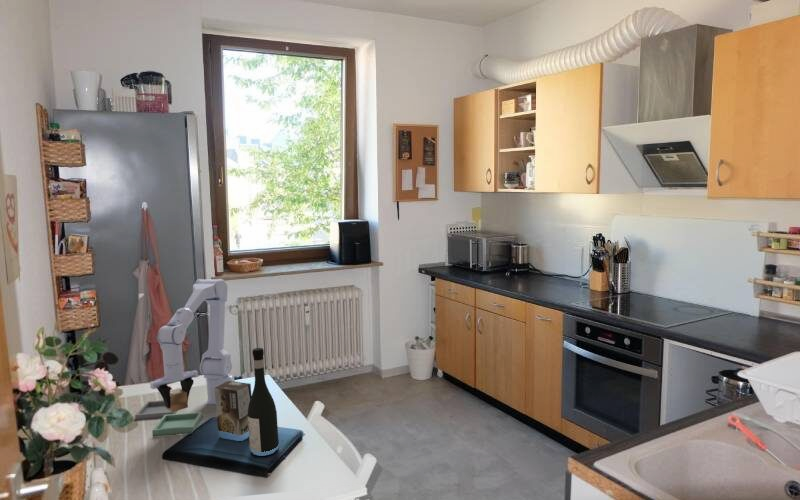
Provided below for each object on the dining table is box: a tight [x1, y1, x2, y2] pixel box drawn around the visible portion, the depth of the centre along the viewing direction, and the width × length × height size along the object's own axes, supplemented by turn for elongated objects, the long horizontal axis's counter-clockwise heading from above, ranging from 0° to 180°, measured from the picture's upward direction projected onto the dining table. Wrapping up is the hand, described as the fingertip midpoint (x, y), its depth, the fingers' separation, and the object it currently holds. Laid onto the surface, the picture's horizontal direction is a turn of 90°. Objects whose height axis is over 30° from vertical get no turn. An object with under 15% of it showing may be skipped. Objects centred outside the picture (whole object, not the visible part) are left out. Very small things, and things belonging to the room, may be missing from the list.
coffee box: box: [214, 381, 252, 435], centre depth 167 cm, size 9×6×16 cm
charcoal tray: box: [134, 400, 178, 420], centre depth 189 cm, size 12×12×2 cm
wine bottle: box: [248, 347, 280, 452], centre depth 155 cm, size 8×8×30 cm
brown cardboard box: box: [166, 388, 189, 412], centre depth 176 cm, size 5×5×5 cm
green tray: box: [151, 411, 203, 438], centre depth 176 cm, size 12×12×2 cm
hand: (176, 404), depth 176 cm, fingers closed on brown cardboard box, 5 cm apart
